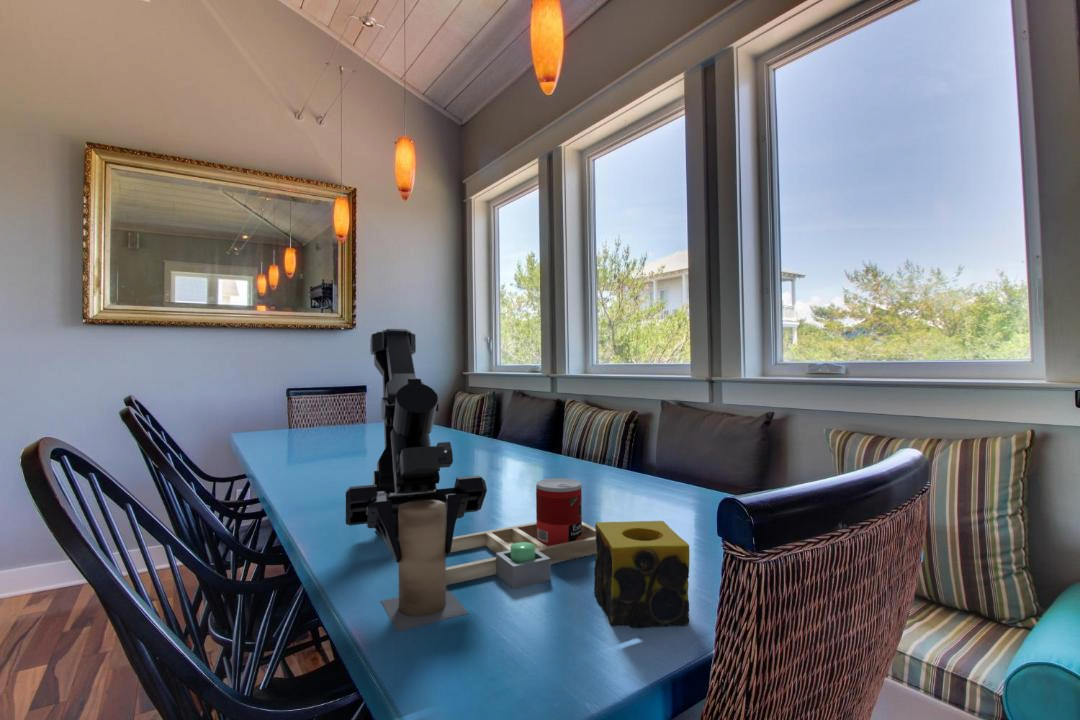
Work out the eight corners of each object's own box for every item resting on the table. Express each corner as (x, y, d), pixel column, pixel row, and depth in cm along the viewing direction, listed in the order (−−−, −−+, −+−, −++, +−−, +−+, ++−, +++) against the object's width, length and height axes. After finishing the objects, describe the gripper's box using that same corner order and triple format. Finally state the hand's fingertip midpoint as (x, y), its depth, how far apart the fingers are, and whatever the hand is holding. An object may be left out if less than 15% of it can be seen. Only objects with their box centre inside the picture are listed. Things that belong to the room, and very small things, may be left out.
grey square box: (496, 576, 77) (495, 553, 77) (531, 568, 80) (531, 545, 80) (513, 591, 72) (513, 566, 72) (550, 582, 75) (550, 558, 75)
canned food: (579, 555, 86) (578, 489, 86) (532, 552, 87) (531, 487, 88) (584, 539, 93) (583, 478, 93) (541, 537, 95) (540, 477, 95)
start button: (506, 564, 77) (506, 544, 77) (527, 560, 79) (527, 540, 79) (517, 573, 74) (517, 552, 74) (539, 568, 76) (539, 547, 76)
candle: (593, 593, 72) (592, 521, 72) (664, 590, 73) (663, 519, 73) (609, 631, 62) (608, 547, 62) (691, 626, 62) (690, 544, 63)
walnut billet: (393, 601, 69) (393, 503, 69) (437, 591, 72) (437, 497, 72) (405, 621, 63) (404, 515, 63) (452, 609, 66) (451, 508, 66)
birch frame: (416, 558, 85) (416, 543, 85) (570, 529, 99) (570, 516, 99) (441, 588, 73) (441, 571, 73) (611, 550, 88) (611, 535, 88)
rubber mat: (380, 604, 69) (380, 601, 69) (445, 589, 73) (445, 586, 73) (397, 634, 61) (397, 631, 61) (468, 616, 65) (468, 613, 65)
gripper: (345, 426, 68) (346, 536, 58) (483, 419, 75) (506, 517, 64) (345, 474, 75) (346, 579, 65) (470, 464, 82) (489, 558, 72)
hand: (423, 557), depth 66 cm, fingers closed on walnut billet, 6 cm apart
